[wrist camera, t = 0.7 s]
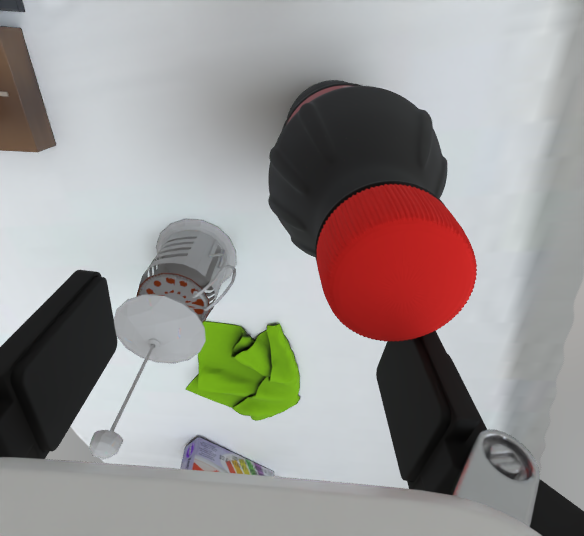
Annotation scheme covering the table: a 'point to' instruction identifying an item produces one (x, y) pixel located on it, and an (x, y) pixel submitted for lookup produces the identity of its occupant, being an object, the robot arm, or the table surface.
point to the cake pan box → (218, 460)
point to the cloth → (247, 370)
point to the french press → (172, 304)
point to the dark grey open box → (11, 5)
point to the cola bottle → (372, 209)
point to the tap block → (20, 98)
